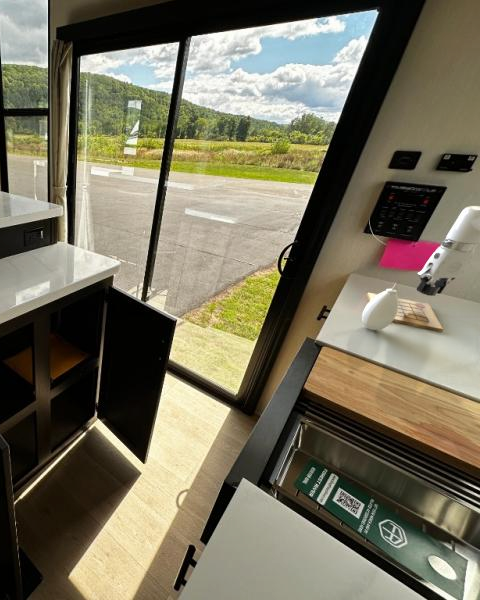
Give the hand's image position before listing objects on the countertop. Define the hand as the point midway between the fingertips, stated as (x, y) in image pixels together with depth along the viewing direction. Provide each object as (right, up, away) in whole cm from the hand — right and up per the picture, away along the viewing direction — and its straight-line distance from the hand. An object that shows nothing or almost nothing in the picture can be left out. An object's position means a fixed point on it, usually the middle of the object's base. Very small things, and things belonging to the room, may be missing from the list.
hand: (428, 291), depth 115 cm
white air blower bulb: (-26, -13, -5) cm, 30 cm away
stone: (0, 0, 0) cm, 1 cm away
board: (-8, -8, +2) cm, 11 cm away
